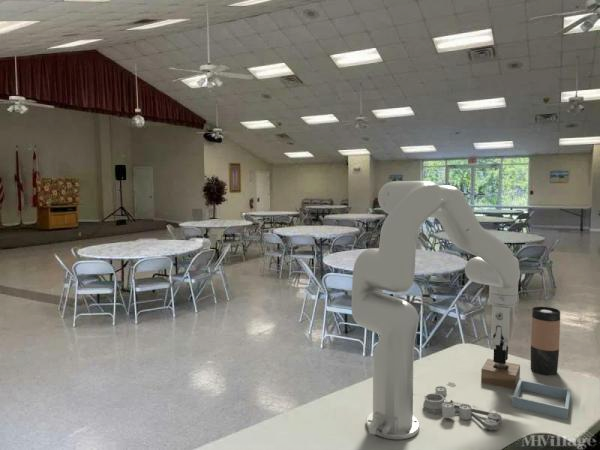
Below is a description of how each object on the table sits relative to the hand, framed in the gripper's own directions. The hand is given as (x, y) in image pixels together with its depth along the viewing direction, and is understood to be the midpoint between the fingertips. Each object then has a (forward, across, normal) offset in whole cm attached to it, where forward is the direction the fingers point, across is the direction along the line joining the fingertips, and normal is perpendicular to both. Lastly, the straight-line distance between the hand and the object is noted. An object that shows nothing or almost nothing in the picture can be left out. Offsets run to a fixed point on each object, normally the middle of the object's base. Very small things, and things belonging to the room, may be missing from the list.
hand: (500, 360), depth 134 cm
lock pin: (+4, 0, 0) cm, 4 cm away
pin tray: (+7, -9, -12) cm, 16 cm away
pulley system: (+8, -22, +8) cm, 24 cm away
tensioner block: (+7, 0, 0) cm, 7 cm away
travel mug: (+7, +14, -10) cm, 19 cm away
